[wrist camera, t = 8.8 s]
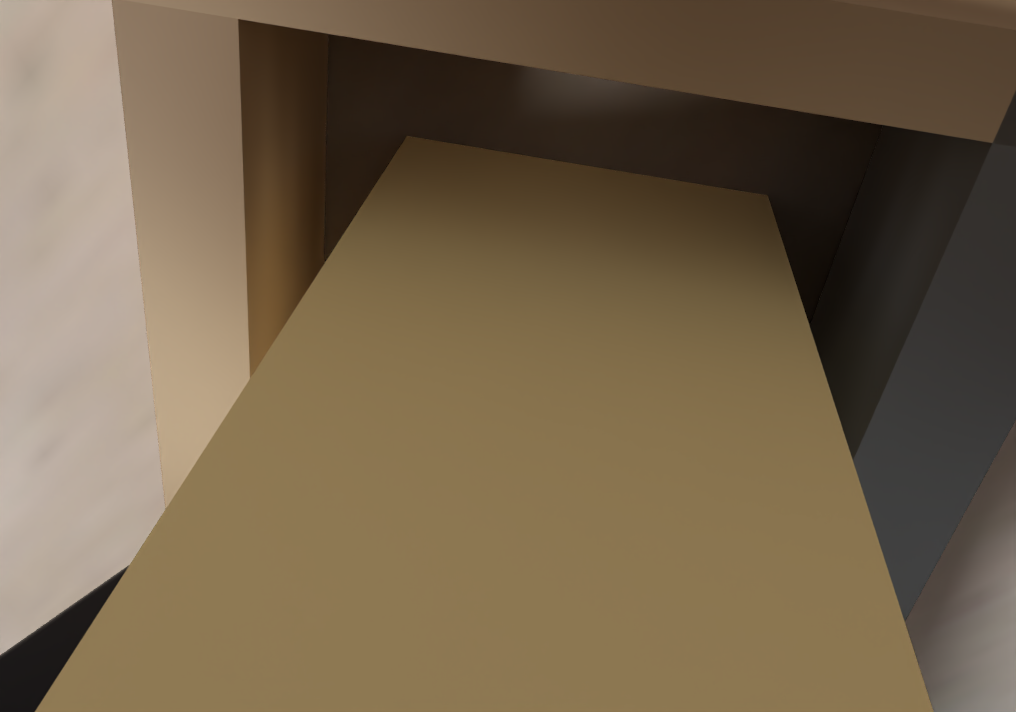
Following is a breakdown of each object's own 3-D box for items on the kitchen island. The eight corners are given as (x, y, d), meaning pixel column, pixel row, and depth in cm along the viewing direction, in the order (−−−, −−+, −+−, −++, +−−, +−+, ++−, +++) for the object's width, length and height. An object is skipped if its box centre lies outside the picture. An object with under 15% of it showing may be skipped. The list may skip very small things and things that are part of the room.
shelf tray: (672, 899, 18) (678, 1051, 15) (262, 821, 18) (213, 960, 16) (1084, -6, 8) (1234, 63, 6) (229, -141, 9) (100, -117, 7)
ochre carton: (773, 194, 10) (1065, 1060, 3) (655, 576, 13) (676, 1402, 6) (402, 133, 10) (-71, 842, 3) (376, 526, 13) (111, 1286, 7)
